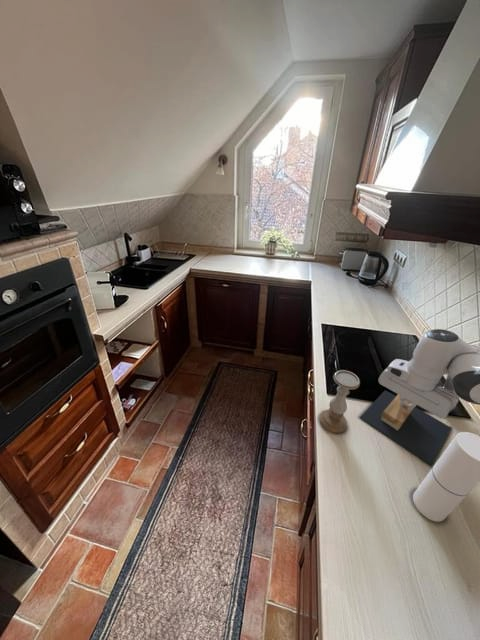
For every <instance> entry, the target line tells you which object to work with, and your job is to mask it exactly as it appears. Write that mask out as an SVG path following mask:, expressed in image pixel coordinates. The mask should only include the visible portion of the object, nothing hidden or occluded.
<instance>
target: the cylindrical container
mask: <svg viewBox="0 0 480 640" xmlns="http://www.w3.org/2000/svg"><path fill="white" fill-rule="evenodd" d="M479 483H480V435H478V434H476V433H473V432H469V431H459V432H458V433H457V434H456V435H455V436H454V438H453V439H452V441H451V442H450V443H449V445H448V446H447V448H446V449H445V450H444V451H443V453H442V454H441V455H440V457H439V458H438V460H437V461H436V462H435V464H433V465H432V467H431V469H430V470H429V472H428V473H427V475H426V476H425V477H424V478H423V480H421V483H420V484H419V485H418V487H417V488H416V490H415V491H414V492H413V494H412V500H413V504H414V506H415V507H416V509H417V511H419V513H420V514H421V515H423V516H424V517H426V519H428V520H430V521H433V522H438V523H439V522H443V521H444V520H445V519H446V518H447V517H448V516H449V515H450V514H451V513H452V512H453V511H454V509H455V508H456V507H457V506H458V505H459V504H460V503H461V502H462V501H463V500H464V499H465V498H466V497H467V495H469V494H470V493H471V492H472V491H473V489H474V488H475V487H477V485H478V484H479Z"/></svg>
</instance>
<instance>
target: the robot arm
mask: <svg viewBox="0 0 480 640" xmlns="http://www.w3.org/2000/svg"><path fill="white" fill-rule="evenodd" d="M444 375H447V376H448V375H450V377H451V379H452V383H453V387H454V390H455V393H456V394H457V396H458V397H459V399H461V400H463V401H465V402H467V403H470V404H472V405H477V406H480V347H479V346H477V345H474V344H469V343H468V342H466V341H464V340H463V339H462V338H460V337H459V335H458V334H457V333H455V332H453V331H450V330H448V329H442V328H435V329H430V330H427V331H426V332H424V334H423V335H421V338H420V339H419V341H418V342H417V344H416V345H415V348H414V350H413V352H412V357H411V358H410V360H404V359H400V358H395V359H394V360H392V361H391V362H390V363H389V365H388V366H387V367H386V368H385V369H384V370H383V371H382V372H381V373H380V375H379V376H378V379H377V380H378V384H379V385H381V386H383V387H384V388H386V389H387V390H390V391H392V392H393V393H395V394H397V395H398V394H399V395H400V396H399V398H400V402H401V403H400V406H401V407H403V408H405V409H406V410H408V411H409V410H410V408H412V407H417V406H418V407H420V408H422V409H424V410H425V411H427V412H429V413H431V415H434V416H436V417H438V418H440V419H446V418H447V417H448V415H449V413H450V412H451V411H450V409H451V407H452V406H455V405H456V406H457V404H458V403H459V399H458V397H457V396H456V395H454V394H455V393H453V392H451V391H448V390H446V389H445V388H443V386H441V385H440V384H439V382H440V381H441V379H442V377H443V376H444ZM405 398H406V399H407V400H409V401H411V402H412V403H411V404H410V403H408V402H406V401H405ZM449 411H450V412H449Z"/></svg>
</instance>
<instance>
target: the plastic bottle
mask: <svg viewBox="0 0 480 640" xmlns="http://www.w3.org/2000/svg"><path fill="white" fill-rule="evenodd" d="M442 387H443V388H445V389H446V390H448V391H451V392H453V393H455V390H454V387H453V383H452V379H451V377H450V375H447V376H446V379H445V382H444V384H443V386H442ZM454 395H456V396H457V394H456V393H455V394H454ZM457 397H458V396H457ZM459 399H460V397H458V400H459ZM456 407H457V404H456V405H455V406H452V407H451V409H450V411H449V413H450V412H452V411H454V410H455V409H456Z"/></svg>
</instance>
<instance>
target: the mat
mask: <svg viewBox="0 0 480 640" xmlns="http://www.w3.org/2000/svg"><path fill="white" fill-rule="evenodd" d="M396 396H397V395H395V394H393V393H391V392H389V391H388V390H387V389H385V390H384V391H383V392H382V393H381V394H380V395H379V396H378V397H377V398H376V399H375V400H374V402H372V404H370V405H369V407H367V409H366V410H365V411H364V412H363V413H362V414H361V415H360V417H359V418H360V419H361V420H362V421H364V422H366V423H367V424H369V425H370V426H371V427H373V428H374V429H376V430H377V431H379V432H380V433H382V434H383V435H385V436H386V437H387V438H388V439H390V440H392V441H393V442H395V443H396V444H397V445H399V446H400V447H402V448H404V449H405V450H406V451H408V452H409V453H411V454H413V455H414V456H415V457H417V458H418V459H420V460H421V461H422V462H424V463H425V464H427V465H428V466H429V467H433V465H434V462H435V460H436V459H437V456H438V455H439V453H440V451H441V449H442V447H443V445H444V443H445V442H446V440H447V437H448V436H449V433H450V431H451V430H452V427H450V426H449V425H447V424H445V423H443V421H441V420H439V419H437V418H435V417H433V416H432V415H430V414H428V413H427V412H425V411H423V410H421V409H419V408H418V407H417V406H415V408H414V409H413V411H412V412H411V413H410V415H409V416H408V418H407V419H406V420H405V422H404V423H403V424H402V426H401V427H400V428H399V430H398V431H397V430H396V429H394V428H393V427H391V426H390V425H388V424H387V423H385V422H384V421H382V420H381V418H382V414H383V411H384V410H385V409H386V408H387V407H388V405H389V404H390V403H391V402H392V401H393V400H394V398H395V397H396Z"/></svg>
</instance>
